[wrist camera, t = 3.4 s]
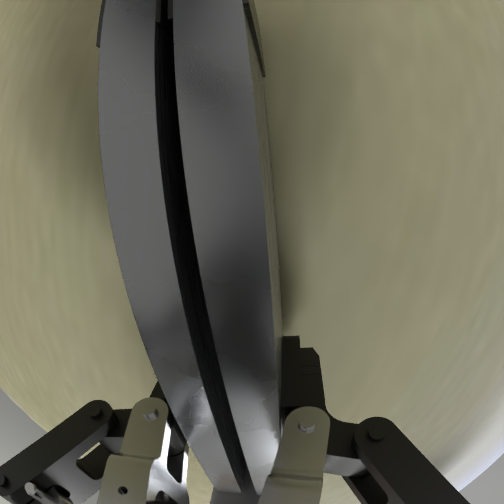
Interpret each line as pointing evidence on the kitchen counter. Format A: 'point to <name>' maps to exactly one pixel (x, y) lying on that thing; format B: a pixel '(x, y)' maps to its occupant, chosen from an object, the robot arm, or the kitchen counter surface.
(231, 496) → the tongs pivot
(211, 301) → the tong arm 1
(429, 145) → the kitchen counter surface
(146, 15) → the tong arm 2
